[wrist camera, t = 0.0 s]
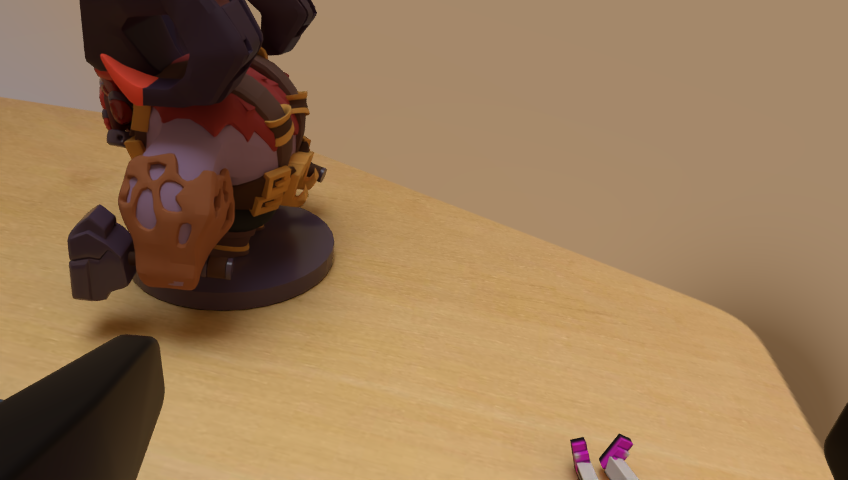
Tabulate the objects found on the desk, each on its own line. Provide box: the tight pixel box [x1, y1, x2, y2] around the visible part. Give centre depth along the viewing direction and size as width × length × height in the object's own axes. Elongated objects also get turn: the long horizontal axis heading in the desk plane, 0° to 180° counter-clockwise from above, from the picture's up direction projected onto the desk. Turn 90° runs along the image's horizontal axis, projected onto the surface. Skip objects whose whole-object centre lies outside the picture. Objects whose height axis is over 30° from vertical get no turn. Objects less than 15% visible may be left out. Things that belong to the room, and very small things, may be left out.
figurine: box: [68, 0, 334, 310], centre depth 33 cm, size 20×14×17 cm
